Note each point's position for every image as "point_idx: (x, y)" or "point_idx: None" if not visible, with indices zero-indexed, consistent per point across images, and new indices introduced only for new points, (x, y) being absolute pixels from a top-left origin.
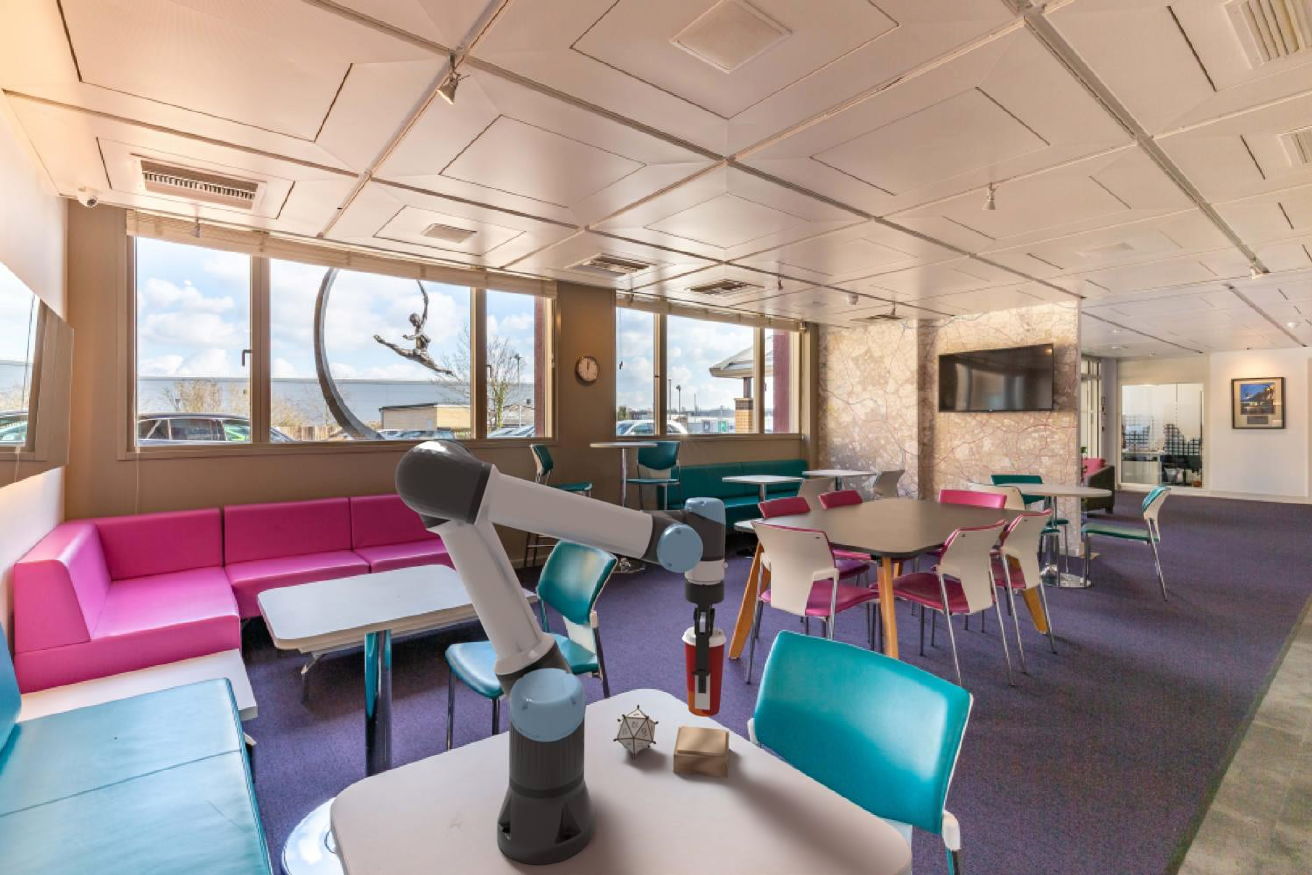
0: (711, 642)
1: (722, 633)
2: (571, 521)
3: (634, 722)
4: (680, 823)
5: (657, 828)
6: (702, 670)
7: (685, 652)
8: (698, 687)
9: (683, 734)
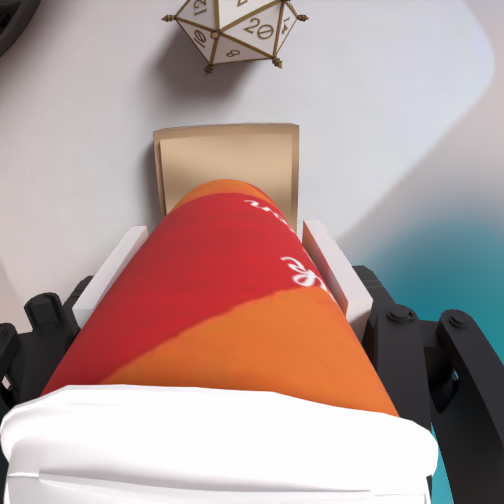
0: None
1: None
2: None
3: (205, 3)
4: (30, 179)
5: (13, 148)
6: (5, 374)
7: (156, 292)
8: (73, 291)
9: (244, 144)
